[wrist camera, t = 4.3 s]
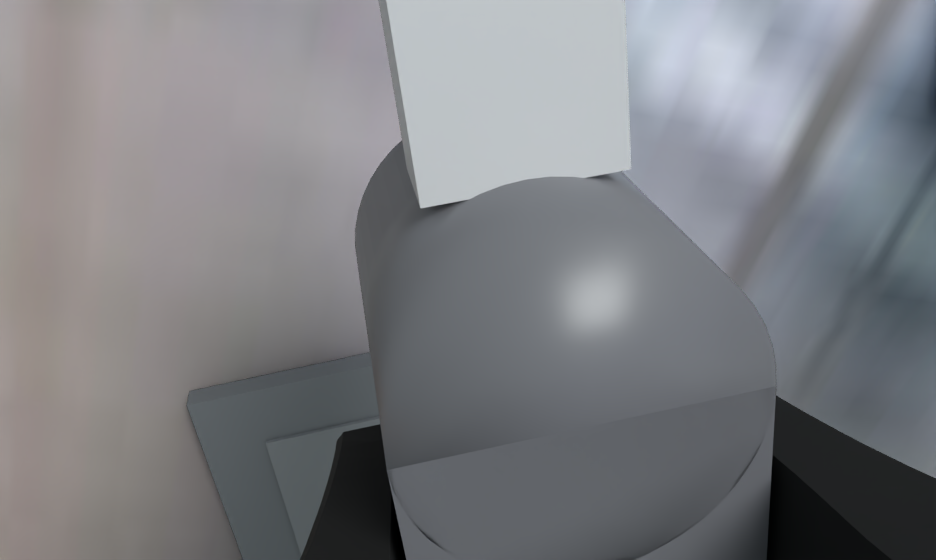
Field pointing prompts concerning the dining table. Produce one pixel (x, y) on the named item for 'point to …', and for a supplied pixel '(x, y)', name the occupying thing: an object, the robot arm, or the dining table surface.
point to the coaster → (280, 447)
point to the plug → (549, 308)
